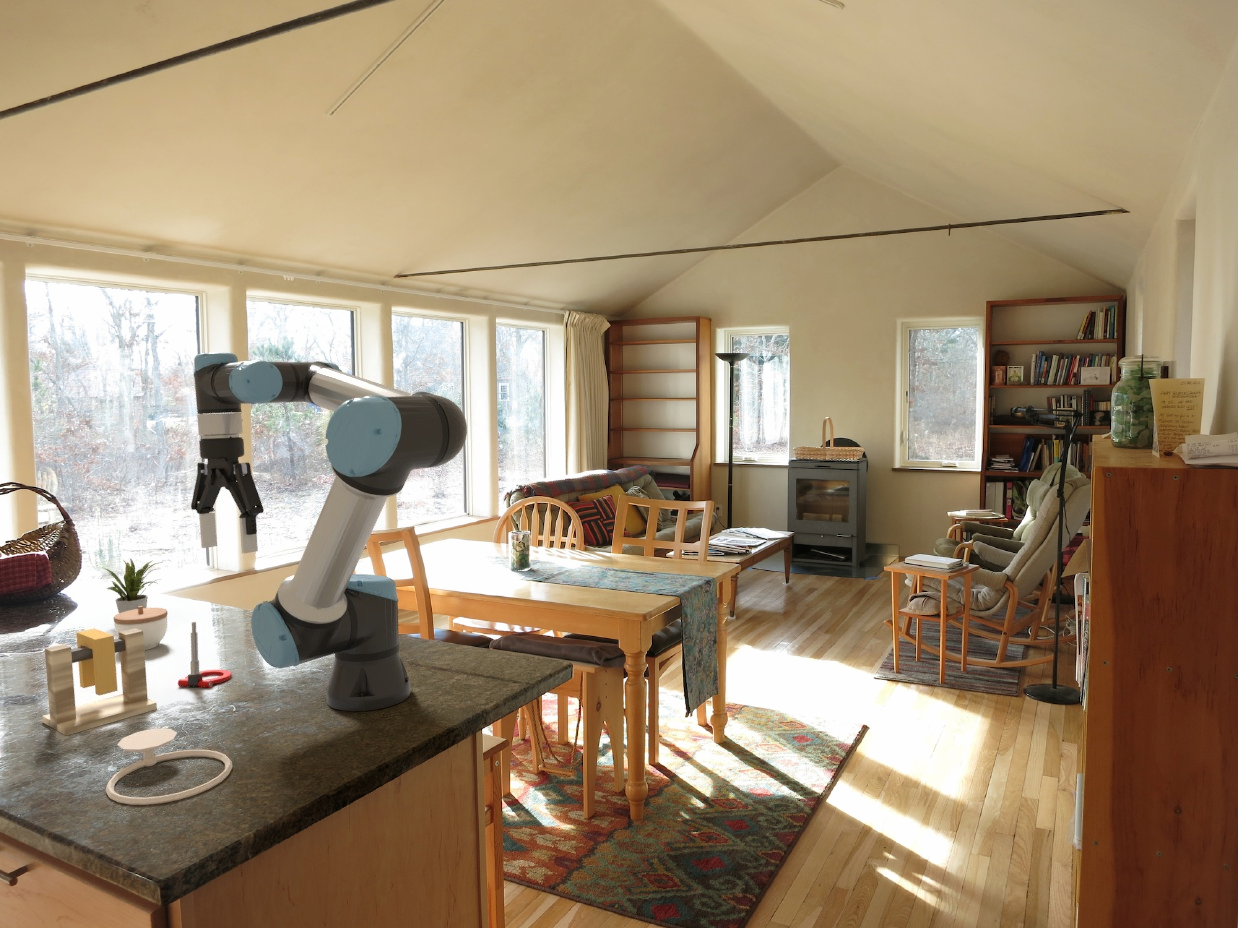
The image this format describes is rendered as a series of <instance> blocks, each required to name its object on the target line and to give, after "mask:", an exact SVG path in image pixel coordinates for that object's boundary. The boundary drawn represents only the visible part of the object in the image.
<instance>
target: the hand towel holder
mask: <svg viewBox="0 0 1238 928" xmlns="http://www.w3.org/2000/svg"><path fill="white" fill-rule="evenodd" d="M176 735H178V732H177V731H176V730H173V728H152V729H146V730H141V731H137V732H134V733H132V734H130V735H127V736H124V737H122V738H121V739H120V741H119V742H118V743H117V746H118V747H119V748H121V749H123V750H124V751H126V753H127V752H129V753H130V752H131V753H143V755H142V756H143V759H142V760H139V761H136V762H134V763H131V764H130V765H128V766H126V767H124V768H122V769H121V770H119V771H118V772H117V773H115V774H114V775H113V776H112V777H111V779H109V781H108V782H107V785H106V788H105V793H106V795H107V796H108V798H109V799H111V800H113V801H115V802H117V803H119V804H124V805H132V806H134V805H135V806H138V805H139V806H146V805H147V806H148V805H157V804H158V805H159V804H164V803H169V802H174V801H180V800H182V799H186V798H188V797H193V796H196V795H198V794H200V793H203V792H205V791H208V790H209V789H212V788H213V787H215V786H217V785H219V784H220V783H222V782H223V781H224V780H225V779H227V777H228V776H229V774H230V773H231V770H232V769H233V761H232V760H231V759H230V758H229V757H228V756H227V755H226V754H225V753H222V752H220V751H216V750H209V749H185V750H177V751H171V752H166V753H162V754H161V753H160V754H157V755H155V753H156V752H155V750H157V749H159V748H161V747H164V746H167V745H169V744H171V743H172V741H173V740H174V739H175V737H176ZM192 757H195V758H197V757H198V758H200V757H201V758H202V757H205V758H211V759H216V760H218V761H221V762H223V763H224V770H223V771H222V772H221V773H220V774H219V775H217V776H216V777H215V778H212V779H211V780H209V781H208V782H205V783H203V784H201V785H198V786H195V787H194V788H190V789H186V790H182V791H180V792H176V793H171V794H166V795H160V796H150V797H149V796H148V797H133V796H132V797H131V796H127V795H121V794H119V793H118V792H116V791H115V785H116V784H117V783H118V781H120V780H121V779H122V778H123V777H125V776H126V775H128V774H131V773H133V772H134V771H137V770H139V769H142V768H144V767H153V766H154V765H156V764H157V763H161V762H164V761H168V760H174V759H181V758H192Z"/></svg>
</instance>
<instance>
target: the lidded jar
mask: <svg viewBox="0 0 1238 928" xmlns="http://www.w3.org/2000/svg"><path fill="white" fill-rule="evenodd" d="M113 622H114V629H115V631H114V632H115V634H116V637H117V638H116V639H118V638H119V632H122V631H126V630H131V629H135V628H136V629H139V630H142V631H143V637H144V651H145V650H146V651H147V650H152V649H154V648H156V647H158V646H159V643H160V642H161V641H162V640H163V639H164V638H165V636H166V633H167V630H168V629H167V628H168V610H167V609H166V608H163V607H146V608H143V606H138V609H134V610H129V611H125V612H122V613H119V612H118V613H117V614H115V615H114V616H113Z"/></svg>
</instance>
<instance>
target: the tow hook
mask: <svg viewBox="0 0 1238 928" xmlns="http://www.w3.org/2000/svg"><path fill="white" fill-rule="evenodd" d="M198 646H199V641H198V632H197V621H192V622H191V632H190V649H191V650H190V652H191V653H190V655H191V656H190V657H191V661H190V674H187V675H186V676H185V678H180V679H179V680H178V681H177V686H178V687H185V688H186V687H187V688H198V689H199V688H206V689H207V688H209V689H210V688H212V686H213V685H215V684H220V683H223V682H226V681H228V680H230V679H231V678H232V672H231V671H230V670H225V669H207V670H201V671H200V660H199V647H198ZM207 676H218V677H214V678H207V679H203V677H207Z"/></svg>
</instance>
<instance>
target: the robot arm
mask: <svg viewBox="0 0 1238 928" xmlns="http://www.w3.org/2000/svg"><path fill="white" fill-rule="evenodd" d="M193 361H194V365H193V367H194V372H193V379H194V390H195V400H196V409H197V410H196V412H197V413H196V417H197V430H198V436H200V437H202V438H200V440H199V441H198V443H199V444H198V445H199V455H200V458H201V459H204V460H207V461H202V462H201V461H200V462H198V463H196V466H197V470H196V471H197V472H196V473H197V474H196V479H195V484H194V490H193V495H192V500H191V504H190V507H191V510H193V511H196V513H197V514H198V518H199V530H200V531H199V532H200V544H201V549H206V548H213V547H217V546H218V539H217V538H218V537H217V526H216V524H217V523H216V522H217V521H216V513H215V511H216V510H215V507H214V506H215V504H216V502H217V498H218V496H219V494H220V492H221V489H222V488H224V489H225V490H228V491H229V493H230V495H231V497H232V499H233V501H234V502H235V505H236V506H237V508H238V510H239V512H240V514H239V516H238V518H239V528H240V529H239V531H240V532H239V533H240V542H241V543H240V544H241V553H242V554H249V553H253V552H255V553H256V552H258V549H259V548H258V534H257V533H258V528H257V516H259V515H260V514H263V513H264V510H265V509H264V506H263V504H262V503H263V502H262V501H261V498H260V495H259V492H258V489H257V486H256V484H255V481H254V478H253V475H252V470H251V469H252V468H251V463H250V462H240V461H239V458H241V457H244V456H245V442H244V438H243V437H241V436H240V435H242V434H243V433H244V431H243V418H242V417H243V416H242V405H243V404H244V405H247V404H250V405H256V404H259V405H260V404H274V403H275V404H277V403H278V404H279V403H309V404H311V405H314V406H317V407H321V408H323V409H326V410H328V411H330V412H333V414H332V415H330V416H331V417H330V419H329V421H328V424H327V427H326V430H325V437H324V439H326V440H327V443H326V444H325V450H326V455H327V458H328V461H329V462H330V467H331V470H332V472H333V474H334V476H335V477H334V479H333V482H332V485H331V487H330V489H329V491H328V494H327V496H326V498H325V501H324V504H323V506H322V508H321V511H320V513H319V516H318V518H317V521H316V523H315V525H314V527H313V530H312V532H311V535H310V537H309V539H308V542H307V544H306V545H305V549H304V551H303V554H302V557H300V558H301V559H300V561H299V564H298V566H297V567H296V571H295V572H294V574H293V575H290V576H288V577H286V578H285V579H284V580H283V581H282V582H281V583H280V585H279V587H278V588H277V591H276V593H275V597H274V598H273V599H272V600H269V601H268V600H264V601H262V602H260V603H258V604H257V605H256V606H255V607H254V608H253V610H252V613H251V618H250V619H251V621H250V624H251V625H250V627H251V632H252V637H253V640H254V644H255V646H256V648H257V650H258V653H259V655H260V656H261V658H262V659H263V660H264V661H265V662H266V663H267V665H269V666H271V667H273V668H276V669H286V668H290V667H297V666H299V665H302V664H305V663H308V662H311V661H312V662H313V661H314V660H318V659H320V658H321V659H322V658H325V657H327V656H331V655H334V662H333V666H332V668H331V669H332V670H331V672H330V677H329V681H328V685H327V687H326V694H325V695H326V704H327V705H328V706H329V707H331V708H332V709H335V710H338V711H339V710H340V711H346V712H367V711H375V710H380V709H384V708H385V709H386V708H388V707H392V706H395V705H397V704H399V703H402V702H403V701H406V700H407V699H408V697H410V695H411V681H410V677H409V675H408V673H407V670H406V666H405V664H404V663H403V659H402V657H401V653H400V640H399V639H400V638H399V636H400V635H399V632H400V631H399V609H398V607H399V605H398V603H399V598H398V590H397V584H396V582H395V580H394V579H392V578H390V577H388V576H386V575H385V576H384V575H379V574H362V573H355V574H354V572H355V569H356V567H357V565H358V563H359V562H360V559H361V556H362V554H363V552H364V550H365V547H366V545H367V543H368V541H369V539H370V537H371V534H372V532H373V530H374V528H375V526H376V524H377V521H378V519H379V518H380V515H381V512H382V510H383V509H384V507H385V504H386V502H387V500H388V497H393V496H396V495H398V494H400V493H401V492H402V490H403V488H404V486H405V484H406V482H407V480H408V478H409V475H410V473H412V471H414V470H423V469H428V468H429V469H430V468H434V467H440V466H442V465H445V464H448V462H450V461H451V460H453V459H455V457H456V456H458V454H459V453H460V452H461V451H462V449H463V447H464V445H465V443H466V440H467V434H468V425H467V419H466V417H465V414H464V413H463V411H462V409H461V408H460V406H458V405H457V403H455V402H454V401H453V400H451V399H449V398H447V397H445V396H440V395H437V394H433V393H430V392H426V391H416V392H413V393H410V392H407V391H403V390H401V389H397V388H394V387H391V386H388V385H385V384H382V383H380V382H376V381H374V380H373V381H372V380H369V379H365V378H363V377H360V376H356V375H353V374H350V373H347V372H343V370H342V369H340V367H339V366H338V365H337V364H335V363H333V362H325V361H321V360H319V361H317V360H316V361H294V362H293V361H267V360H261V359H248V360H243V361H239V359H238V356H237V355H236V354H235V353H234V352H207V353H206V352H204V353H198V354H197V355H195V356H194V359H193Z"/></svg>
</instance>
